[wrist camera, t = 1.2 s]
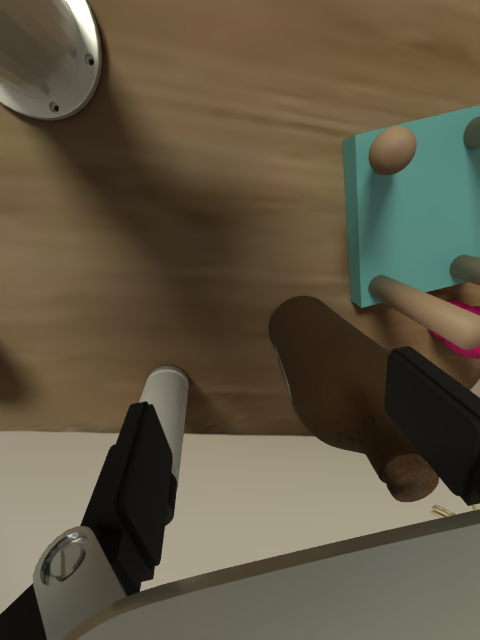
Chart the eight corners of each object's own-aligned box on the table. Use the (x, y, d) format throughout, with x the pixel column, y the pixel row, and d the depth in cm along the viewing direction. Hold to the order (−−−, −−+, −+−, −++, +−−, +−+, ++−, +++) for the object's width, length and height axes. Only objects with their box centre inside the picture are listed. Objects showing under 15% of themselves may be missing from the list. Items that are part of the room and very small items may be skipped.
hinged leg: (371, 142, 29) (367, 132, 18) (403, 133, 28) (420, 116, 17) (371, 173, 30) (368, 181, 20) (402, 166, 29) (418, 170, 18)
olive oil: (305, 275, 37) (455, 392, 15) (348, 324, 41) (520, 478, 18) (249, 326, 40) (302, 497, 17) (294, 368, 43) (388, 554, 21)
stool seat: (342, 140, 31) (473, 81, 16) (477, 108, 31) (740, 17, 16) (350, 300, 40) (442, 365, 24) (457, 274, 40) (618, 322, 24)
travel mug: (198, 375, 42) (189, 508, 24) (175, 404, 44) (151, 549, 26) (161, 355, 40) (122, 485, 22) (139, 387, 42) (86, 531, 24)
